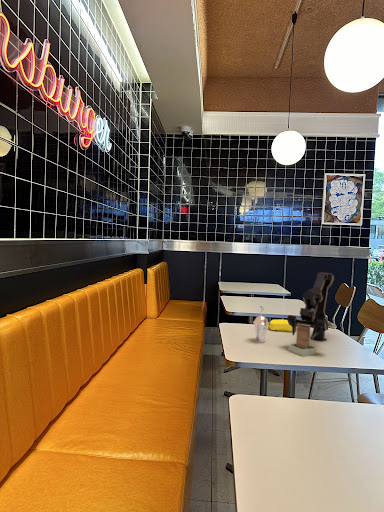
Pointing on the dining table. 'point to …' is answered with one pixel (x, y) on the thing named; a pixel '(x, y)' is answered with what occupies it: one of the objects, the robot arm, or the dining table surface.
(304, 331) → the walnut block
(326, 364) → the dining table surface
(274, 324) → the yellow rounded block
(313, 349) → the green holder
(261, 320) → the cup with straw
